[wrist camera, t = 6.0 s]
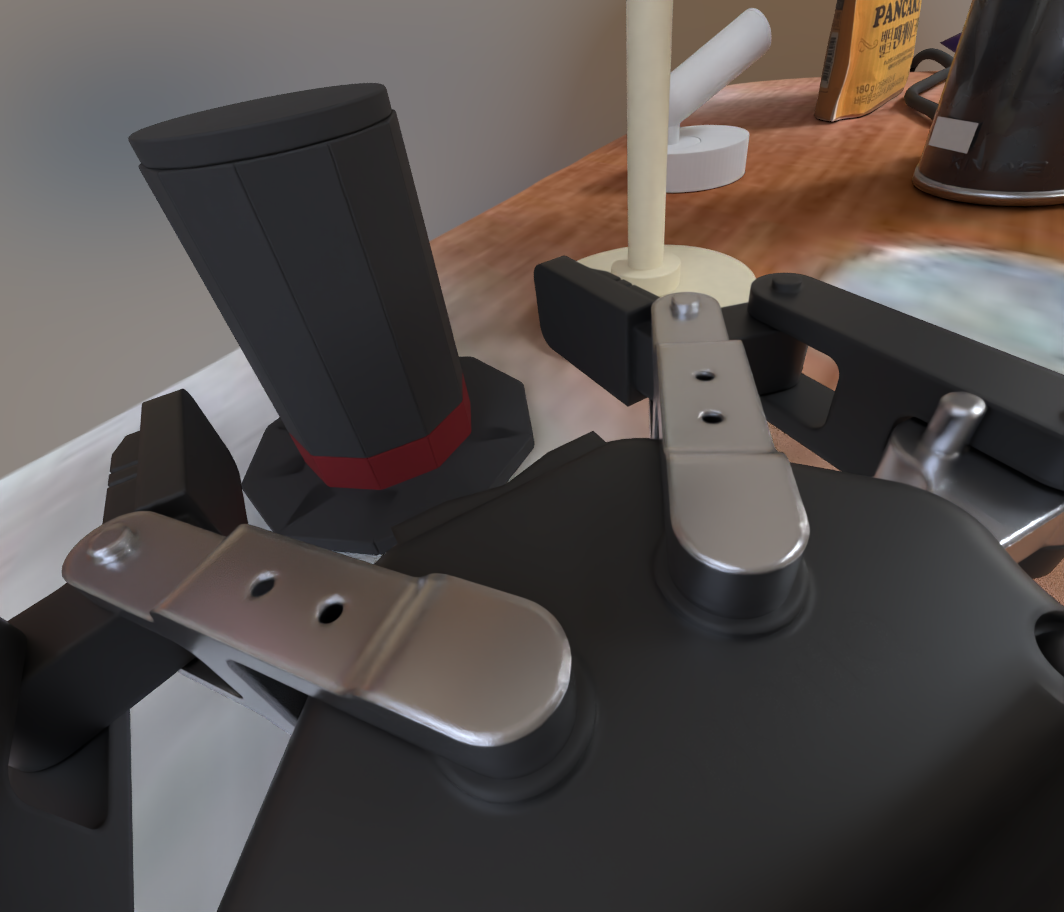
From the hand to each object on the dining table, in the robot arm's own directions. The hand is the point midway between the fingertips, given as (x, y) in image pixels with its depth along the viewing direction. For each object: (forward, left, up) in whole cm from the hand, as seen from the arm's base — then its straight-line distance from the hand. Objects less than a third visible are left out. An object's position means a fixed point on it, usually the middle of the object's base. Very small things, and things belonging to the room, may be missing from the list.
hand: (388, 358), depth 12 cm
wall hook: (-35, -16, -7) cm, 39 cm away
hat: (-1, -6, -7) cm, 9 cm away
